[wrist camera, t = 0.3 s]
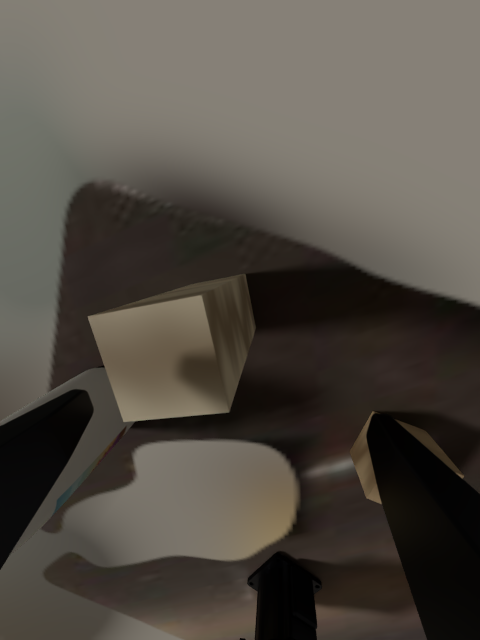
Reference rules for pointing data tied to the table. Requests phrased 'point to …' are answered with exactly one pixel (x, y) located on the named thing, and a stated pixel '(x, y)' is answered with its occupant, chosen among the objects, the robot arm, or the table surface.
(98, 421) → the milk bottle
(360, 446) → the oak cube
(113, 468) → the table surface
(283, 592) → the robot arm
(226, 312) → the maple block
